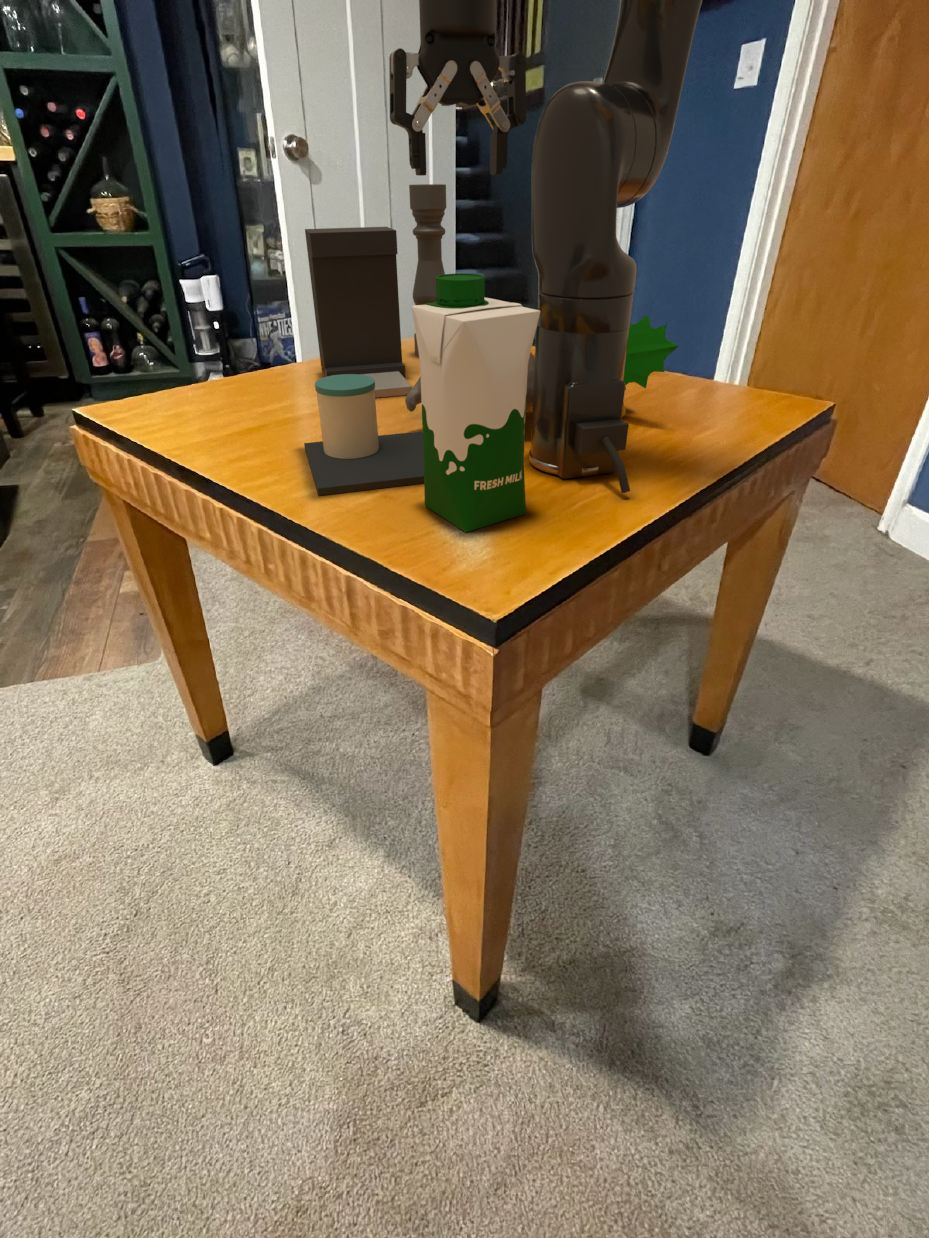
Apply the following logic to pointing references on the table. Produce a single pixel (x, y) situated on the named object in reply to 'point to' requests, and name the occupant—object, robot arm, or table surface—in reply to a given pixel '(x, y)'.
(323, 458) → the mat
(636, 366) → the ornament
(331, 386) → the container
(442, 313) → the fresh milk carton
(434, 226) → the candle holder
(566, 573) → the table surface
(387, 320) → the coffee maker
